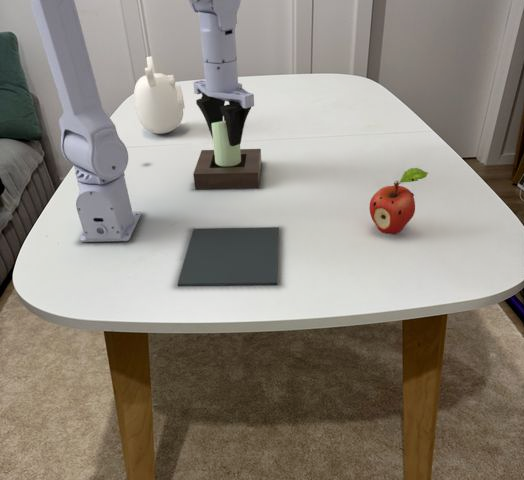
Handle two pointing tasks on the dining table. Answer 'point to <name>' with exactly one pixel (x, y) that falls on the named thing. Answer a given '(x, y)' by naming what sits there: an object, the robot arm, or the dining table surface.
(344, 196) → the dining table surface
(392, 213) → the apple
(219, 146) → the candle
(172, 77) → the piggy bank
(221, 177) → the holder
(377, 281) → the dining table surface
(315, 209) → the dining table surface
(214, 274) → the mat
